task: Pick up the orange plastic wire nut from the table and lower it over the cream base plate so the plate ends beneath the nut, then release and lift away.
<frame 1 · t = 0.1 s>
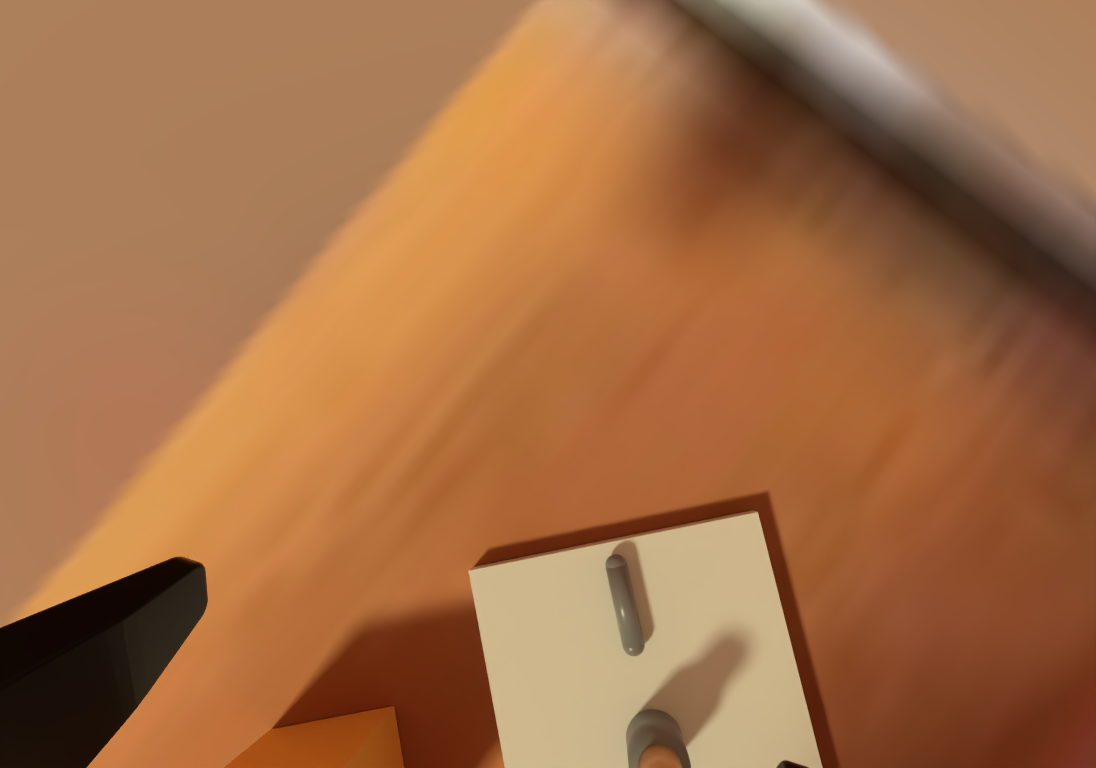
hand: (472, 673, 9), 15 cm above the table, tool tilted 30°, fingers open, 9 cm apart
cream base plate: (652, 729, 22), on the table
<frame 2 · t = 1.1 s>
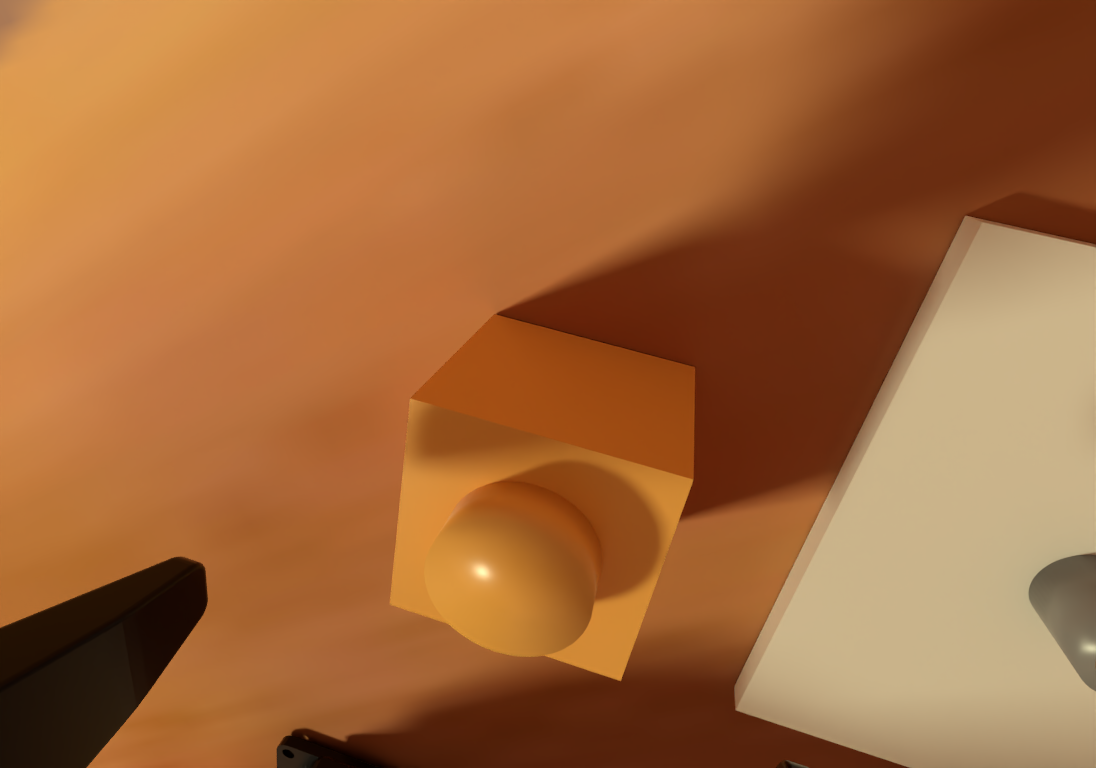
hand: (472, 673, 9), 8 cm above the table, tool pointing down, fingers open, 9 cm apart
orange wire nut: (571, 427, 16), on the table
cream base plate: (1062, 566, 14), on the table
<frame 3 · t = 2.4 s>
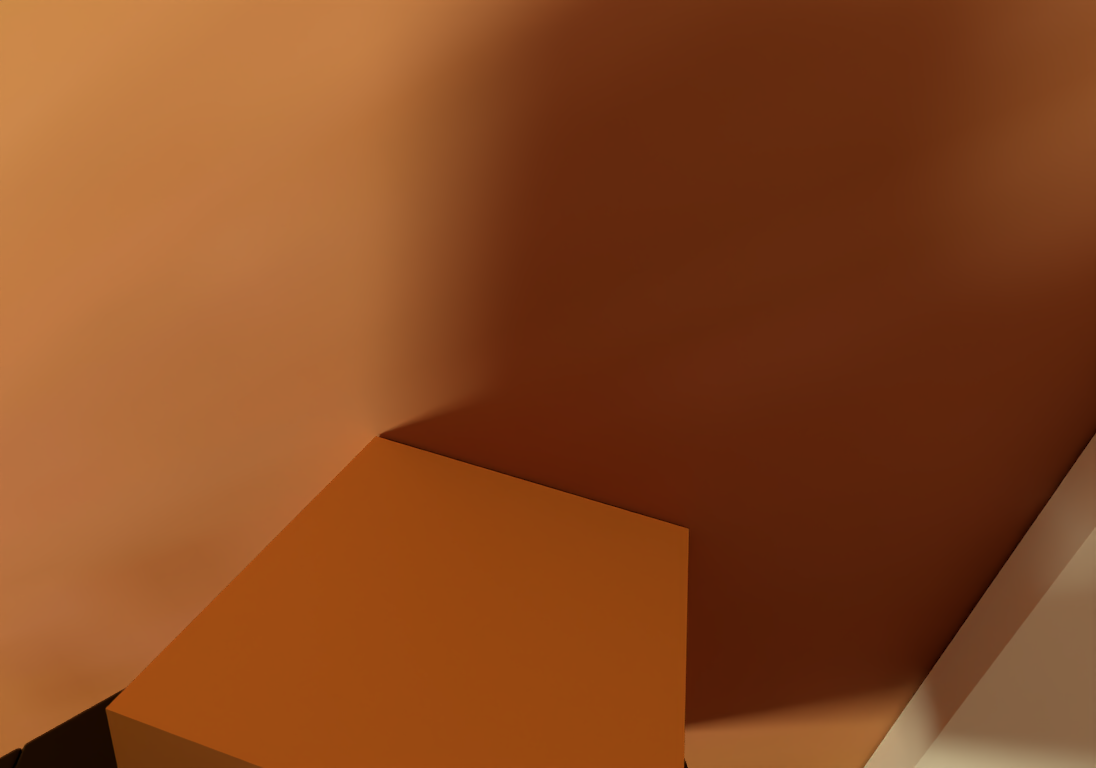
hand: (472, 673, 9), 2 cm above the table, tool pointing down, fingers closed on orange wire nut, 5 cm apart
orange wire nut: (502, 599, 10), on the table, touching gripper
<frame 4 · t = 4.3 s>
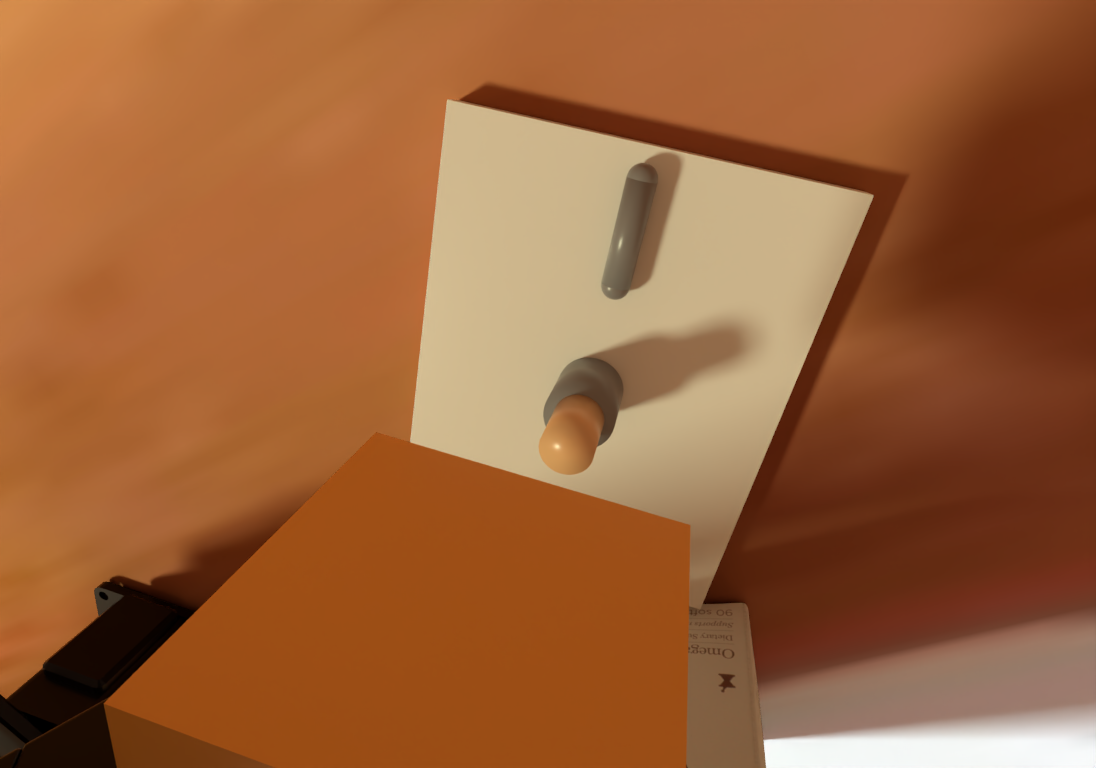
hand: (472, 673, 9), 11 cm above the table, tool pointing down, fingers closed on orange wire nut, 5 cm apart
orange wire nut: (502, 596, 10), point 10 cm above the table, touching gripper
supplement box: (656, 664, 24), on the table
cream base plate: (594, 377, 19), on the table
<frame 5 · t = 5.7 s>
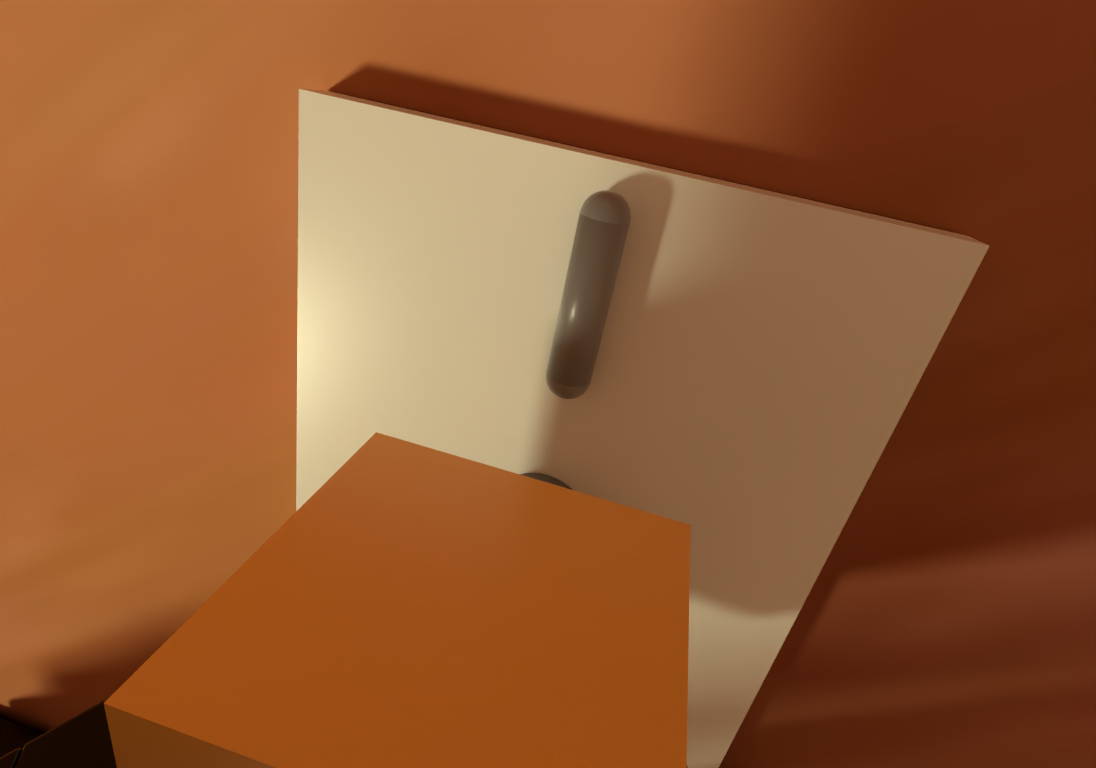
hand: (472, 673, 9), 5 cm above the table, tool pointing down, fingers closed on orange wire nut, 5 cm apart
orange wire nut: (502, 596, 10), point 3 cm above the table, touching gripper
cream base plate: (547, 492, 13), on the table
when the fingers open (4 cm above the table, at t = 6.6 s): orange wire nut drops 2 cm, resting on cream base plate.
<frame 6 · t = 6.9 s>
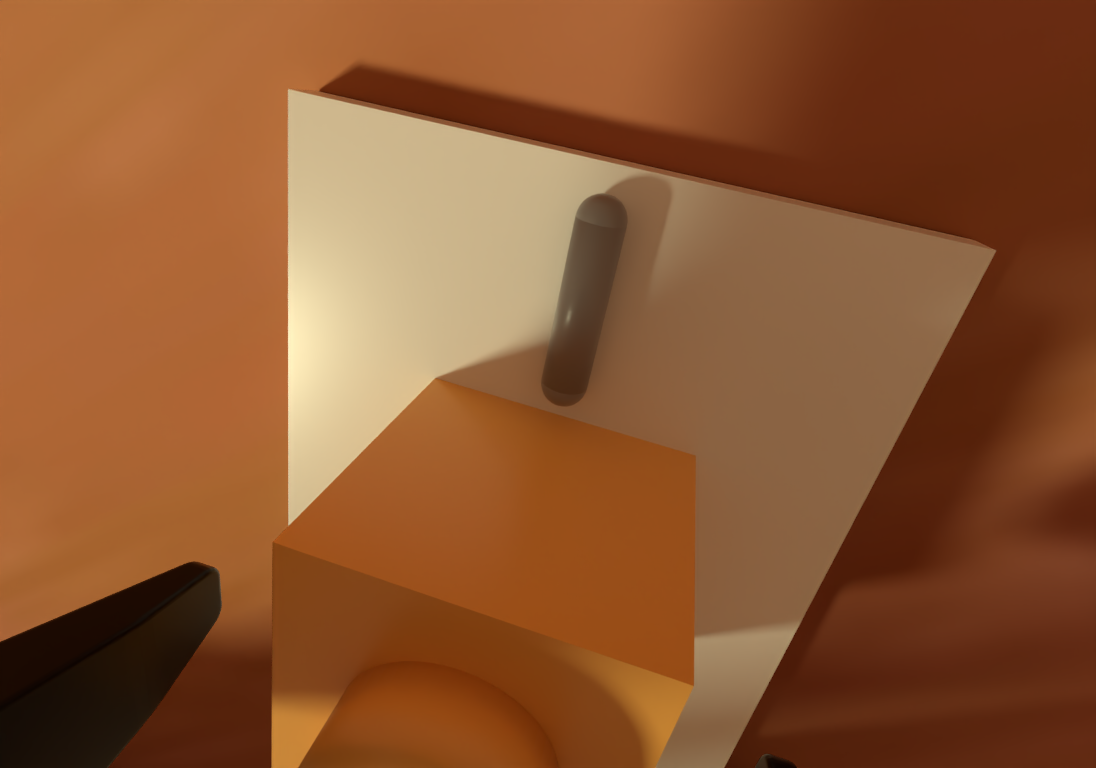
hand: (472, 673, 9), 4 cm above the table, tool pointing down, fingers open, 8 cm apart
orange wire nut: (535, 521, 12), point 1 cm above the table, touching cream base plate
cream base plate: (543, 500, 13), on the table
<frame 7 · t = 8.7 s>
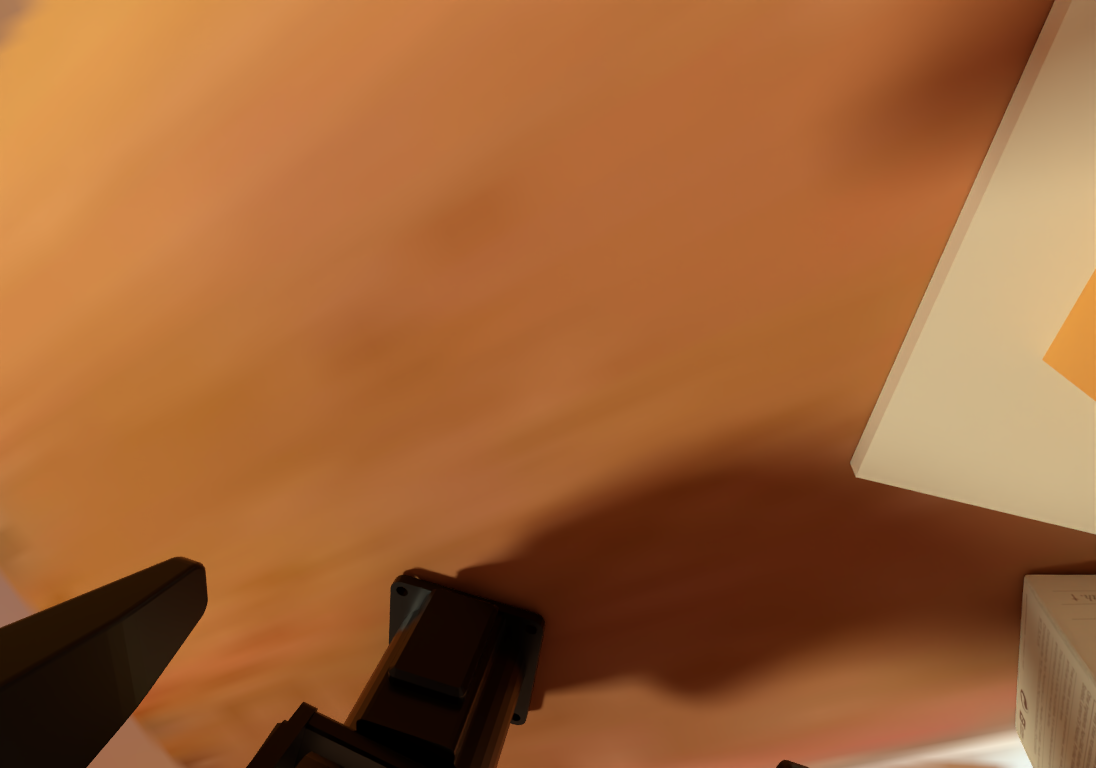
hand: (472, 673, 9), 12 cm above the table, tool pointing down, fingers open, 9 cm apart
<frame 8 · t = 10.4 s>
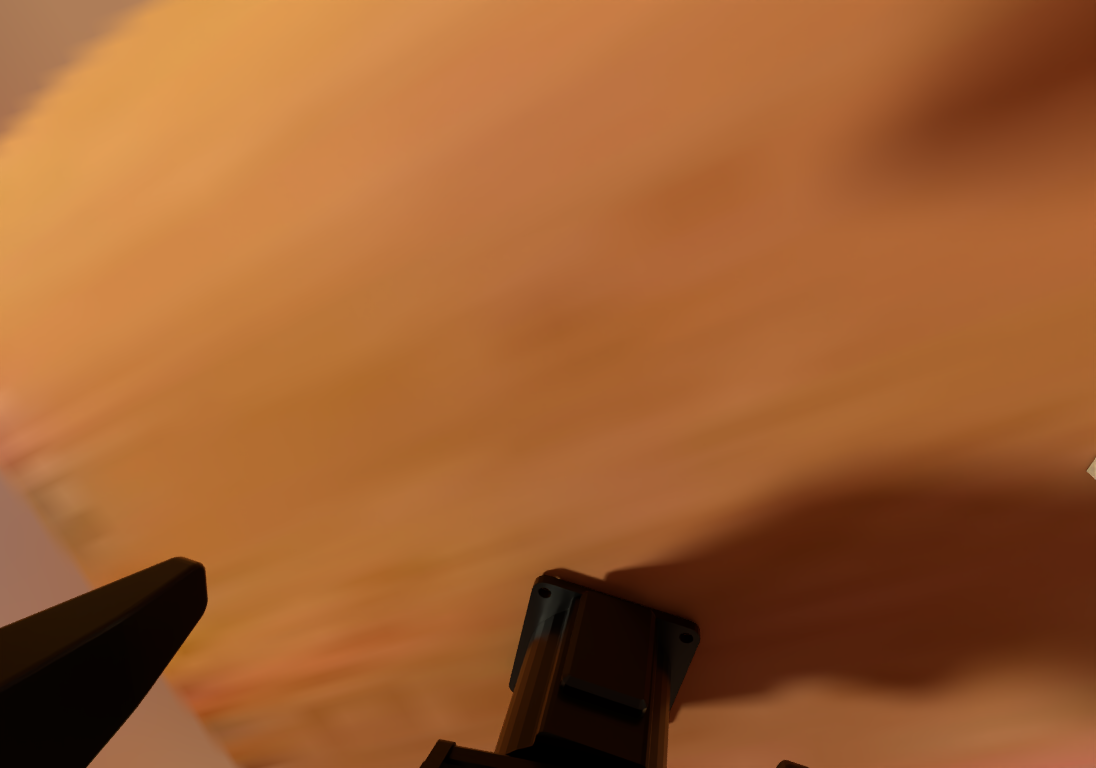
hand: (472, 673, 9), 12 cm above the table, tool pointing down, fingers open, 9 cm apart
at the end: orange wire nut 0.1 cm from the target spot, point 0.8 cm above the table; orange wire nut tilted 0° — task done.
